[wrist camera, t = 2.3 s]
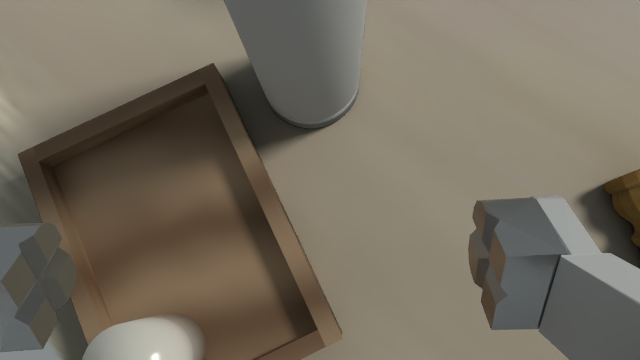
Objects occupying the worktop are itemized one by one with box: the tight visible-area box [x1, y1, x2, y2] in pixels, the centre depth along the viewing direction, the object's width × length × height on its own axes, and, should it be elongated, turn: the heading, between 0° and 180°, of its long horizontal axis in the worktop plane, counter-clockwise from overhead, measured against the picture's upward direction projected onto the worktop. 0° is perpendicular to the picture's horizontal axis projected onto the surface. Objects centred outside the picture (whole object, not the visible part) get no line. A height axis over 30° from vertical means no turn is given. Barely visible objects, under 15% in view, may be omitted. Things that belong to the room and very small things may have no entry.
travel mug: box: [224, 0, 367, 128], centre depth 23 cm, size 6×7×20 cm
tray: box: [18, 63, 342, 360], centre depth 30 cm, size 18×13×3 cm
